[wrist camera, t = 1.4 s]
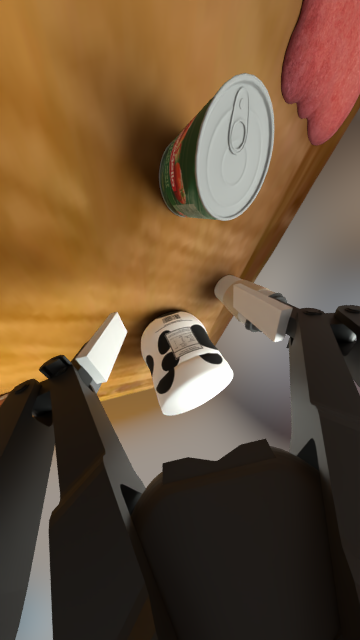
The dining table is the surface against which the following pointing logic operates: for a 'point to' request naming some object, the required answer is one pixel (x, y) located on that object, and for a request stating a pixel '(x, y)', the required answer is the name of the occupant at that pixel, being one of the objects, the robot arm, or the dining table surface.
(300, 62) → the red flat irregular piece
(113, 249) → the dining table surface
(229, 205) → the canned tomato
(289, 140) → the dining table surface
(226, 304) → the coffee cup
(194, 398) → the doce de leite jar
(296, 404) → the robot arm
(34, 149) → the dining table surface
